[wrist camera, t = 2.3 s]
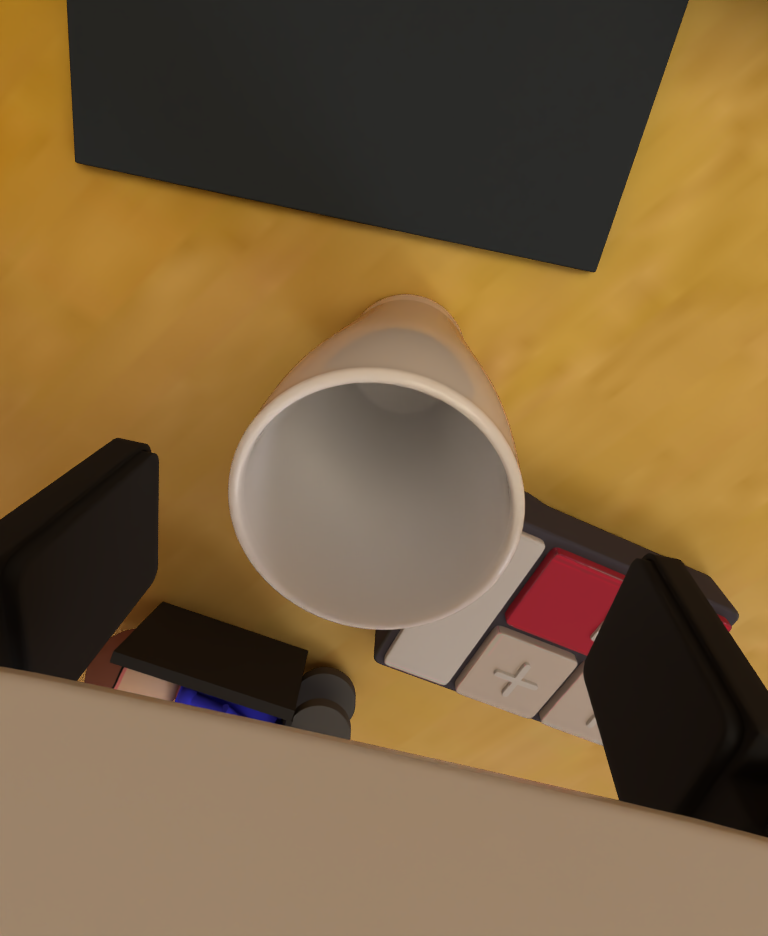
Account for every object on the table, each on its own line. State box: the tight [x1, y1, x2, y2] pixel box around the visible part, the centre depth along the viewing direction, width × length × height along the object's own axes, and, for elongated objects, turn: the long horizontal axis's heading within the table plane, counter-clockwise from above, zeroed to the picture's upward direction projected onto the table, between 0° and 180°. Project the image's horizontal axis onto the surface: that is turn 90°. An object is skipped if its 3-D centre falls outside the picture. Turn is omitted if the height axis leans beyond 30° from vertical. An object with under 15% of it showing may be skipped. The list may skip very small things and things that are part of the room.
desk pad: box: [67, 0, 689, 272], centre depth 20 cm, size 22×14×1 cm, turn 79°
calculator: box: [374, 491, 739, 746], centre depth 29 cm, size 11×4×15 cm
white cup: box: [228, 294, 525, 630], centre depth 19 cm, size 7×7×15 cm
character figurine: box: [85, 602, 356, 740], centre depth 31 cm, size 8×7×15 cm
